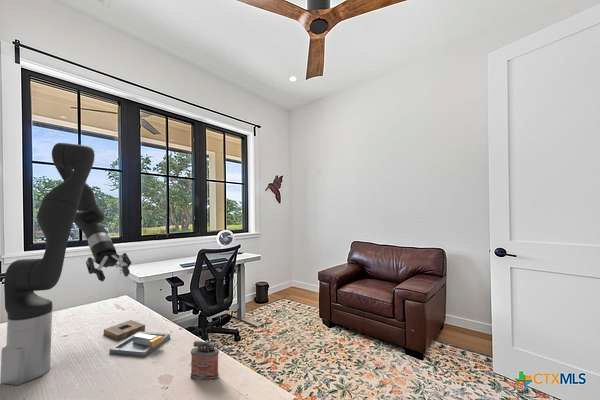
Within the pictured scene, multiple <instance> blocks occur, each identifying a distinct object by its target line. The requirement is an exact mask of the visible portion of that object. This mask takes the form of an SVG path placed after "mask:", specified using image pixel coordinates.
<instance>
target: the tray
mask: <svg viewBox="0 0 600 400" xmlns="http://www.w3.org/2000/svg"><path fill="white" fill-rule="evenodd" d="M138 333H143V334H149V335H155V336H163V342H161V343H159V344H157V345H155V346H154V347H149V346H147V345H142V344H136V343H133V336H134V335H136V334H138ZM136 334H134V335H131V336H129V337H126V338H125V339H123V340H122V341H121V342H119V343H117V344H115V345H114V346H112V347H111V348H109V355H120V356H130V357H139V358H140V357H141V358H145V357H147V356H148V355H149V354H150V353H152V352H153V351H154V350H157V349H158V348H159V347H160V346H161V345H163V344H165V342H167V341H168V340H170V339H171V334H170V333H163V332H162V333H161V332H148V331H141V332H137V333H136ZM166 340H167V341H166Z"/></svg>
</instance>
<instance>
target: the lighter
mask: <svg viewBox="0 0 600 400" xmlns="http://www.w3.org/2000/svg"><path fill="white" fill-rule="evenodd" d="M193 347H194V348H192V349H191V350H190V355H191V359H190V360H191V363H190V364H191V366H190V368H191V369H190V371H191V373H190V379H191V380H194V381H200V380H201V381H202V382H203V381H204V382H208V381H207V380H213V381H216V380H218V379H219V377H218V376H219V353H220V350H219V348H215V347H216V344H215V341H210V340H209V339H206V340H205V341H203V340H195V341H194V342H193ZM217 378H218V379H217ZM215 379H216V380H215ZM201 381H200V382H201Z"/></svg>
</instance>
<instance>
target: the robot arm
mask: <svg viewBox="0 0 600 400" xmlns="http://www.w3.org/2000/svg"><path fill="white" fill-rule="evenodd" d="M51 159H52V162H53V165H54V166H55V169H57V172H58V174H59V176H60V177H61V179H62V180H63V181H62V182H61V183H60V184H58V185H56V186H55V187H54V188H53V189H51V190H50V191H48V192H47V193H46V194H45V195H44V196H43V198H42V200H41V203H40V206H39V209H38V211H37V214H36V219H37V220H36V221H37V224H38V226H39V228H40V230H41V232H42V234H43V235H44V238H45V249H44V254H43V257H41V258H23V259H17V260H15V261H13V262H11V263H10V264H9V266H8V267H7V268H6V271H5V274H4V280H3V287H4V288H3V289H4V291H3V292H4V309H5V312H6V313H7V321H6V322H7V324H6V346H3V347H2V348H1V357H0V359H1V360H0V361H1V364H0V384H4V385H13V386H20V385H21V384H23V383H27V382H30V381H33V380H36V379H37V378H40V377H42V376H43V375H45V374H46V373H48V372H49V371H50V369H51V361H52V360H51V359H52V358H51V356H52V355H51V354H52V331H53V329H52V326H53V324H52V323H53V306H54V305H53V301H52V300H50V299H48V298H44V297H42V296H39V295H38V294H37V293H36V292H37V291H48V290H51V289H53V288H54V287H55V286H56V285H58V283H59V281H60V278H61V275H62V273H63V266H64V263H65V262H64V261H65V256H66V252H67V247H68V241H69V238H70V234H71V230H72V227H73V224H74V225H76V227H77V228H79V229H80V230H81V231H82V232H83V234H84V235H85V238H86V240H87V242H88V243H87V244H88V247H89V249H90V251H91V254H92V256H93V258H92V257H91V256H89V257H87V260H86V261H85V264H86V267H87V270H88V274H90V275H92V274H95V275H96V277H97V279H98V280H99V281H100V282H101V283H102V282H105V279H106V276H105V274H104V271H103V270H102V269H103V268H109V267H112V268H113V267H116V268H119V269H121V271H122V273H123V275H124V277H125V278H126V277H128V276H129V275H130V272H131V271H130V269H129V268H130V266H131V264H132V261H131V259H130V258H129V256H128V254H127V252H123V253H122V254H118V253H117V249H116V247H115V245H114V243H113V241H112V239H111V237H110V235H109V234H108V232H107V230H106V228H105V226H104V225H103V224H101V223H103V222H104V220H105V214H104V211H103V210H101V208H100V207H99V206H98V203H97V202H96V197H95V194H94V191H93V188H91V186H89V184H88V183H87V180H88V179H89V176H90V173H91V171H92V168H93V166H94V162H95V150H94V149H93V148H92V147H91V146H89V145H84V144H75V143H68V142H58V143H55V145H54V146H53V147H52V150H51ZM94 263H95V264H98V267H95V264H94ZM35 291H36V292H35Z"/></svg>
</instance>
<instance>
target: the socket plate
mask: <svg viewBox="0 0 600 400" xmlns="http://www.w3.org/2000/svg"><path fill="white" fill-rule="evenodd" d="M145 330H146V324H143V323H141V322H137V321H135V320H133V319H129V320H127V321H124V322H121V323H118V324H116V325H112V326H110V327H106V328H104V329H103V336H106V337H108V338H111V339H113V340H115V341H121V340H125V339H127V338H129V337H131V336H132V335H134V334H136V333H137V332H145Z"/></svg>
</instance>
